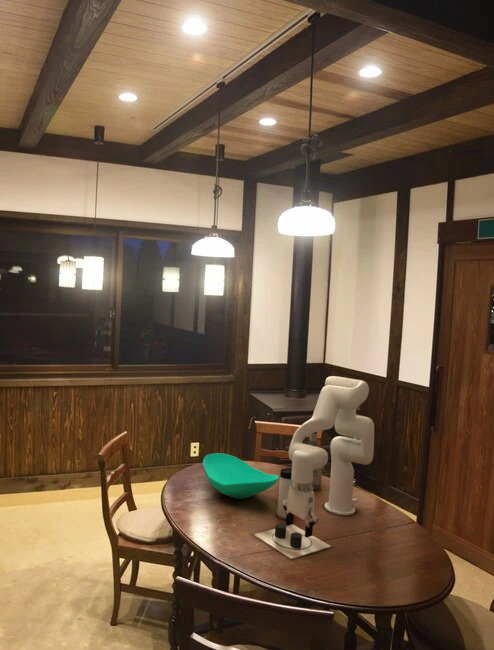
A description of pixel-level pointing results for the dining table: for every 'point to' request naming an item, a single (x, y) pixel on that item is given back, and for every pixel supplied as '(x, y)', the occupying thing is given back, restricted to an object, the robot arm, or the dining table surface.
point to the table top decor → (236, 476)
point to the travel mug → (283, 490)
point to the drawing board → (283, 545)
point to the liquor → (316, 472)
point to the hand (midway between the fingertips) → (298, 530)
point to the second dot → (296, 540)
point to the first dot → (280, 531)
